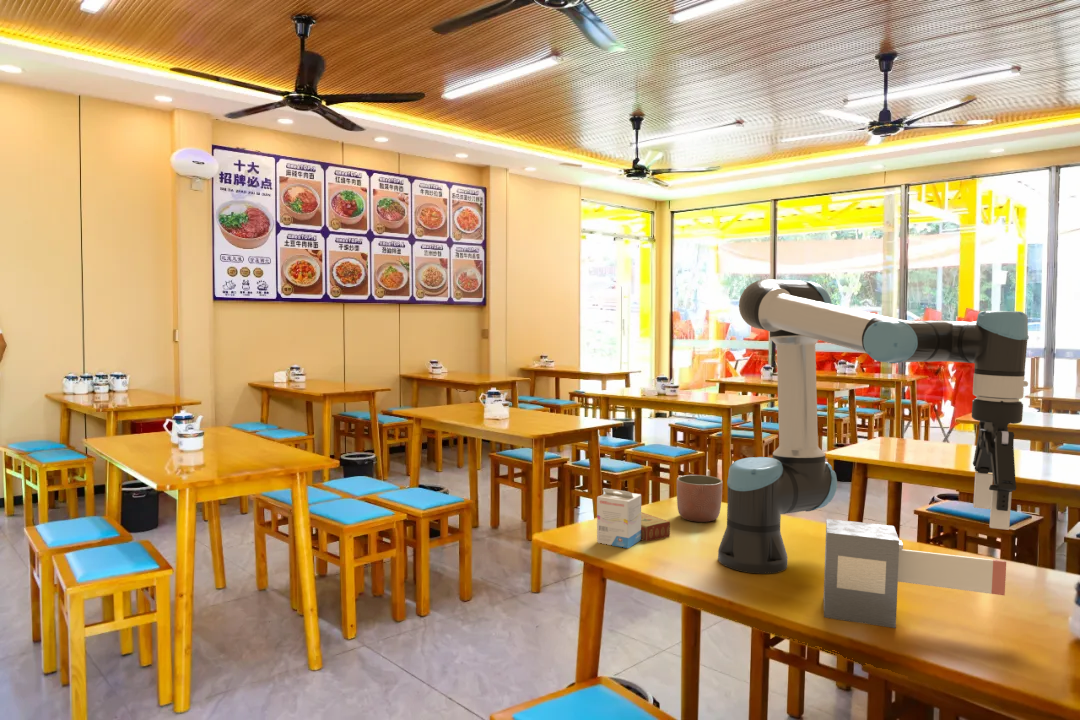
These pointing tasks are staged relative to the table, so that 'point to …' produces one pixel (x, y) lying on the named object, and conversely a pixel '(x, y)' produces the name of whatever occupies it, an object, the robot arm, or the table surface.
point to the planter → (699, 497)
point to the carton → (653, 527)
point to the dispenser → (861, 572)
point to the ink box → (618, 518)
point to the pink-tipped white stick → (952, 571)
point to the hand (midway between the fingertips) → (990, 517)
